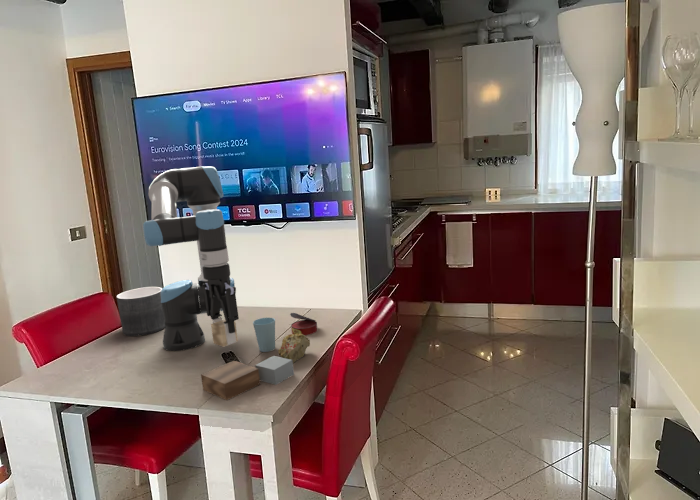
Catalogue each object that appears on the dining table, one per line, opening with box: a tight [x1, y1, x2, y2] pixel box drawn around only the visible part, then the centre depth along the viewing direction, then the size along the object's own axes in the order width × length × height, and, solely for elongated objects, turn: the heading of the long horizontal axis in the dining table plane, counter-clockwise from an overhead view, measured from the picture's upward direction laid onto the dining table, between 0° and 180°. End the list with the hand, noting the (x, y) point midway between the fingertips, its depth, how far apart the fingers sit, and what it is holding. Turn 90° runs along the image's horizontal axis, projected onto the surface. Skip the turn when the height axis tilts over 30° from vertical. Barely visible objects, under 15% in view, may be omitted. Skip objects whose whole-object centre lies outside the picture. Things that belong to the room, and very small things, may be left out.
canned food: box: [289, 312, 318, 336], centre depth 203 cm, size 11×10×10 cm
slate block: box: [254, 355, 295, 386], centre depth 163 cm, size 8×8×5 cm
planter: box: [116, 286, 165, 337], centre depth 221 cm, size 18×18×16 cm
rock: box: [277, 333, 311, 364], centre depth 178 cm, size 12×9×10 cm
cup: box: [252, 317, 276, 353], centre depth 187 cm, size 8×8×10 cm
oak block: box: [210, 319, 239, 348], centre depth 156 cm, size 5×5×6 cm
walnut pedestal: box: [200, 360, 261, 401], centre depth 159 cm, size 12×12×5 cm
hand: (225, 341), depth 156 cm, fingers closed on oak block, 5 cm apart
